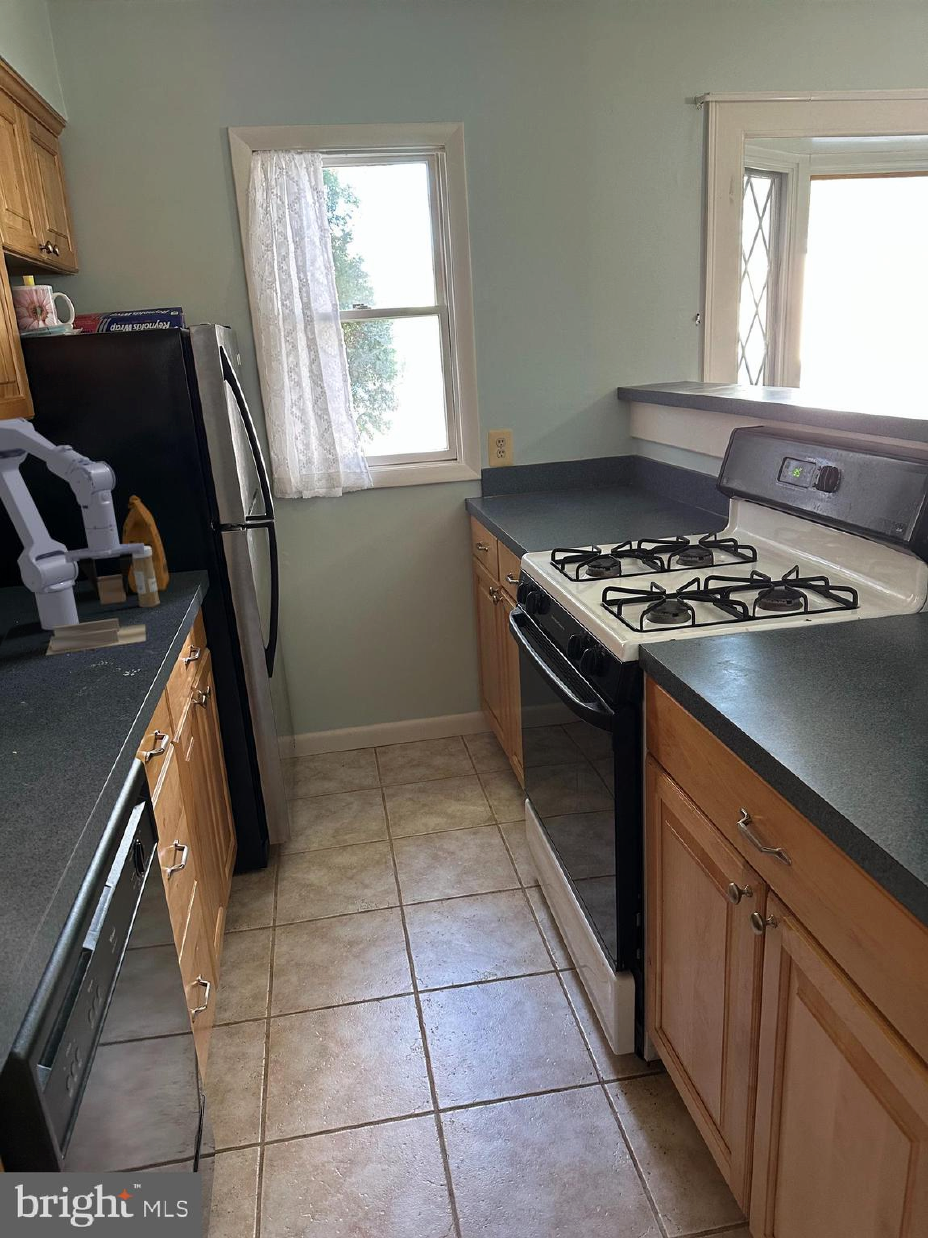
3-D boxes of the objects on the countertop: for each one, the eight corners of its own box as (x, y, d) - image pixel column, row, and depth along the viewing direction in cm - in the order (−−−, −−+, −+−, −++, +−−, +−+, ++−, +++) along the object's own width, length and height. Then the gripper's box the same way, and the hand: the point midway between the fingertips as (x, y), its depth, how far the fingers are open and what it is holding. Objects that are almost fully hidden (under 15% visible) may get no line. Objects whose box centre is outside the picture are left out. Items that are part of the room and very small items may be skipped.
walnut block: (102, 598, 179) (98, 577, 177) (125, 595, 180) (121, 574, 179) (101, 604, 174) (97, 582, 173) (125, 601, 176) (121, 579, 175)
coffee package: (124, 595, 212) (109, 504, 205) (130, 583, 223) (115, 496, 217) (168, 590, 214) (154, 500, 207) (171, 578, 225) (158, 492, 219)
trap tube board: (52, 641, 179) (49, 625, 178) (145, 628, 185) (143, 612, 184) (47, 660, 168) (43, 642, 167) (146, 645, 174) (143, 628, 173)
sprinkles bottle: (162, 605, 202) (153, 547, 198) (142, 609, 199) (132, 550, 195) (157, 601, 205) (148, 544, 201) (136, 605, 203) (127, 547, 199)
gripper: (58, 534, 167) (71, 603, 171) (139, 525, 171) (150, 592, 175) (61, 527, 173) (74, 594, 177) (139, 519, 178) (150, 584, 182)
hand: (112, 593), depth 177 cm, fingers closed on walnut block, 4 cm apart
